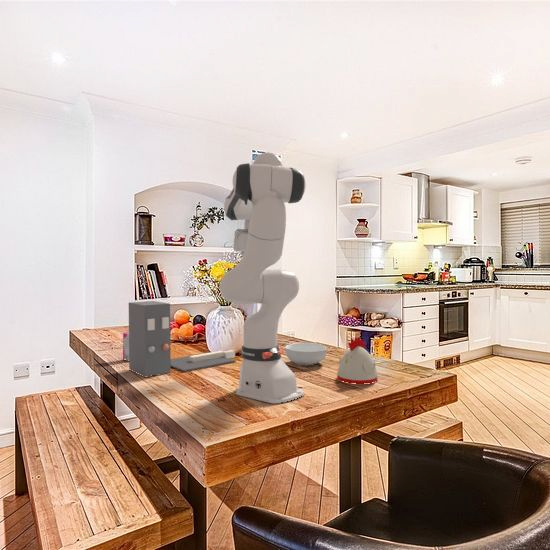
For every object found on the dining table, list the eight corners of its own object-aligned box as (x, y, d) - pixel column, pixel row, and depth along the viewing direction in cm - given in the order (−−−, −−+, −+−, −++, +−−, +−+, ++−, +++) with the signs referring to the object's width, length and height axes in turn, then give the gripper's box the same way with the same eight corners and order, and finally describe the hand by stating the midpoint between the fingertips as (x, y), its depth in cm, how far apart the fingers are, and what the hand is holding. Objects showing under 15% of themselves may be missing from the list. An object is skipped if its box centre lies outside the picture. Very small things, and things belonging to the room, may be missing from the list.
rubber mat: (235, 362, 173) (235, 360, 173) (184, 372, 157) (184, 370, 157) (209, 354, 188) (209, 352, 188) (159, 362, 172) (159, 360, 172)
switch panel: (171, 373, 156) (171, 303, 155) (146, 378, 149) (145, 305, 148) (153, 365, 167) (153, 300, 166) (129, 370, 160) (128, 302, 159)
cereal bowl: (276, 363, 170) (276, 346, 170) (302, 357, 183) (302, 341, 182) (309, 371, 159) (309, 352, 159) (334, 363, 171) (334, 346, 171)
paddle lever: (194, 358, 168) (194, 365, 168) (234, 350, 182) (235, 357, 182) (187, 355, 173) (187, 362, 173) (226, 348, 186) (226, 355, 186)
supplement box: (142, 359, 178) (141, 332, 177) (129, 362, 173) (128, 334, 173) (135, 357, 182) (135, 331, 181) (122, 359, 177) (122, 333, 177)
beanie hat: (329, 378, 149) (329, 336, 149) (355, 372, 158) (356, 332, 157) (358, 387, 138) (358, 342, 138) (385, 380, 146) (385, 338, 146)
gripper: (239, 227, 165) (239, 262, 166) (277, 230, 179) (277, 262, 179) (230, 228, 170) (230, 262, 170) (268, 231, 183) (268, 262, 184)
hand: (255, 262), depth 175 cm, fingers open, 8 cm apart
